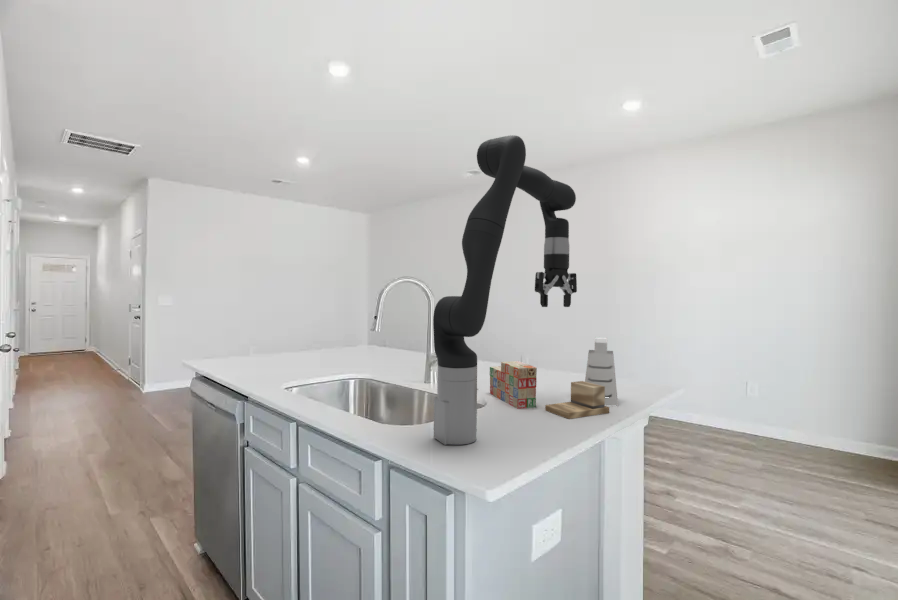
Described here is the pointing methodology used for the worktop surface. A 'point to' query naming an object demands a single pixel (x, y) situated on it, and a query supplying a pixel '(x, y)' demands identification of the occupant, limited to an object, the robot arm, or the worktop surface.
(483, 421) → the worktop surface
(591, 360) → the grater
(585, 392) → the block
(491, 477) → the worktop surface
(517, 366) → the stack of blocks
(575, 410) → the board
